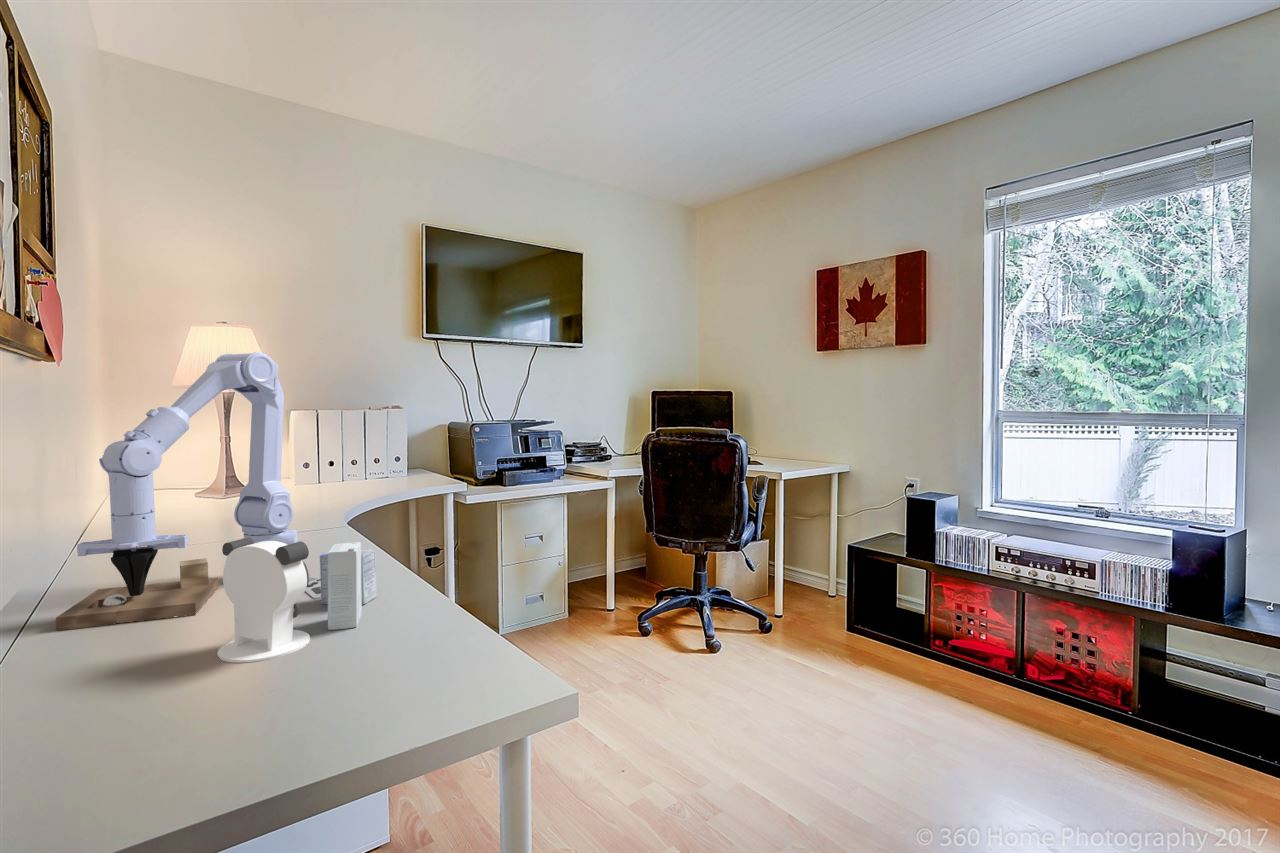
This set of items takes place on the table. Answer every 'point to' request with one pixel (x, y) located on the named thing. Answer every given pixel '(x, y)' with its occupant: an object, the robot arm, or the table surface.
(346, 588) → the skincare box
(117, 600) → the ball
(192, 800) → the table surface
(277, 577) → the white rounded upright piece
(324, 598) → the medicine box
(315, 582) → the handheld gaming device
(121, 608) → the board
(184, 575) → the pale gold metal block
